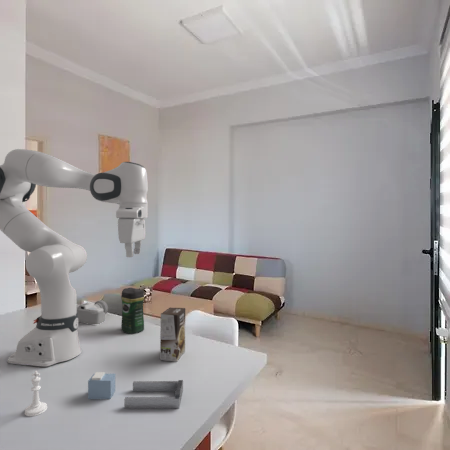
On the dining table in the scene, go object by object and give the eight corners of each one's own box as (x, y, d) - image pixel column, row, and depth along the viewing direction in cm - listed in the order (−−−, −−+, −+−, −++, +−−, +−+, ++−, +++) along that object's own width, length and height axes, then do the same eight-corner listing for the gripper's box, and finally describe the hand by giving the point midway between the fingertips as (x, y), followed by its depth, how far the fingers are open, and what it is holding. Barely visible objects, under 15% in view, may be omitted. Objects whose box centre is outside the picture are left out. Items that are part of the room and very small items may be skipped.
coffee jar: (147, 330, 138) (147, 288, 137) (132, 336, 131) (132, 291, 131) (133, 326, 143) (133, 285, 143) (118, 331, 137) (118, 288, 137)
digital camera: (115, 326, 153) (120, 307, 152) (89, 334, 141) (94, 313, 140) (93, 312, 161) (98, 293, 160) (68, 317, 149) (72, 298, 148)
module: (88, 399, 85) (88, 378, 85) (93, 391, 89) (94, 371, 89) (110, 399, 86) (110, 378, 85) (115, 391, 90) (115, 371, 89)
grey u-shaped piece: (124, 408, 81) (124, 396, 81) (133, 389, 90) (133, 378, 90) (179, 408, 81) (179, 395, 81) (183, 389, 90) (183, 378, 90)
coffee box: (177, 362, 108) (177, 314, 107) (159, 360, 109) (159, 313, 109) (186, 351, 117) (186, 307, 116) (169, 349, 118) (169, 306, 118)
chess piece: (31, 405, 82) (30, 366, 82) (50, 404, 83) (50, 366, 83) (20, 416, 78) (20, 376, 77) (41, 416, 78) (41, 375, 78)
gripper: (132, 213, 113) (132, 252, 113) (114, 211, 93) (114, 259, 93) (150, 213, 113) (149, 252, 113) (136, 212, 93) (135, 259, 93)
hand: (133, 255), depth 103 cm, fingers open, 8 cm apart
